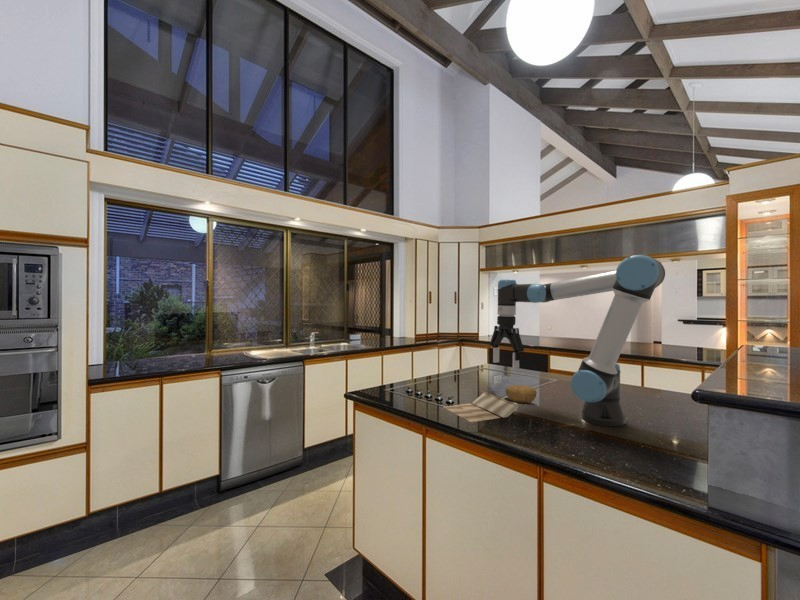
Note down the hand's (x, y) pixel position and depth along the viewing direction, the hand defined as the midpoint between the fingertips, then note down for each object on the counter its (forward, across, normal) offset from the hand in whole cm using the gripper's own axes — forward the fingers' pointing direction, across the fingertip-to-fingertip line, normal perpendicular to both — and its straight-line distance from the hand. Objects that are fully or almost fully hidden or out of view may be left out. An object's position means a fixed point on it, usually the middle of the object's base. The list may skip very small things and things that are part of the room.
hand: (505, 365), depth 159 cm
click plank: (+17, 0, -6) cm, 18 cm away
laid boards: (+19, +1, -18) cm, 26 cm away
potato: (+20, -6, +13) cm, 24 cm away
